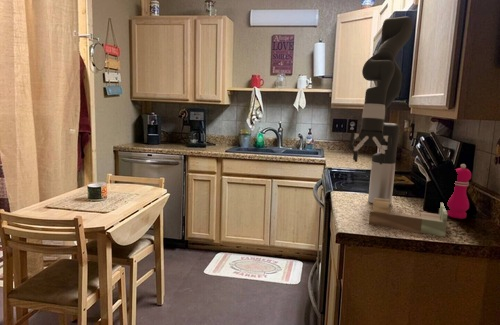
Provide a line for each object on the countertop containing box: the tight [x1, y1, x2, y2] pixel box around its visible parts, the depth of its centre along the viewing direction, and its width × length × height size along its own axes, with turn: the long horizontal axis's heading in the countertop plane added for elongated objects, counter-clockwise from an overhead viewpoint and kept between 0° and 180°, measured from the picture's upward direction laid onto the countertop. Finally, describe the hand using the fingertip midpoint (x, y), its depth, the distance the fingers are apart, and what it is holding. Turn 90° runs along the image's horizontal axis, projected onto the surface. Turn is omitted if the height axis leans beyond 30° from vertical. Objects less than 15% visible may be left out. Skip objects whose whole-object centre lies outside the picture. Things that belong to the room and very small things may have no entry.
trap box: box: [368, 202, 448, 237], centre depth 127 cm, size 17×23×7 cm
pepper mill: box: [447, 163, 472, 220], centre depth 136 cm, size 7×7×20 cm
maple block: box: [372, 198, 390, 213], centre depth 127 cm, size 5×5×5 cm
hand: (368, 163), depth 131 cm, fingers open, 8 cm apart
